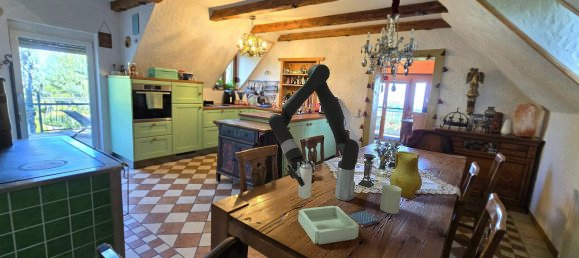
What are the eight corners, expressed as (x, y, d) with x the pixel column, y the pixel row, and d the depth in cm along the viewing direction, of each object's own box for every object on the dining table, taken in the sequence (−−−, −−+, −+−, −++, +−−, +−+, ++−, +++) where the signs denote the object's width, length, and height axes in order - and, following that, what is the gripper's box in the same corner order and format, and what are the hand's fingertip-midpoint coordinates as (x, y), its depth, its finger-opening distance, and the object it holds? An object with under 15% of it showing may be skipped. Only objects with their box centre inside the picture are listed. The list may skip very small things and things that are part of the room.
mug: (302, 178, 168) (303, 163, 167) (296, 174, 176) (297, 160, 174) (318, 177, 173) (319, 162, 172) (312, 172, 181) (313, 159, 179)
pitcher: (387, 195, 147) (394, 152, 144) (388, 186, 164) (394, 148, 161) (421, 202, 141) (428, 158, 138) (417, 192, 158) (424, 152, 155)
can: (398, 207, 133) (401, 185, 131) (399, 215, 125) (402, 191, 123) (379, 204, 136) (382, 182, 134) (379, 211, 127) (382, 188, 126)
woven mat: (362, 213, 125) (362, 209, 125) (379, 223, 116) (380, 219, 116) (346, 217, 120) (346, 213, 120) (362, 229, 111) (363, 224, 111)
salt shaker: (307, 192, 116) (309, 163, 114) (312, 197, 111) (314, 166, 109) (296, 193, 115) (298, 163, 112) (300, 199, 110) (302, 167, 107)
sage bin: (335, 215, 121) (336, 205, 120) (358, 238, 103) (360, 226, 102) (297, 219, 115) (298, 209, 114) (315, 245, 97) (316, 232, 96)
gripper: (283, 148, 111) (300, 183, 104) (307, 145, 120) (324, 177, 112) (275, 157, 116) (291, 191, 108) (299, 153, 125) (315, 184, 117)
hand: (308, 184), depth 111 cm, fingers closed on salt shaker, 5 cm apart
